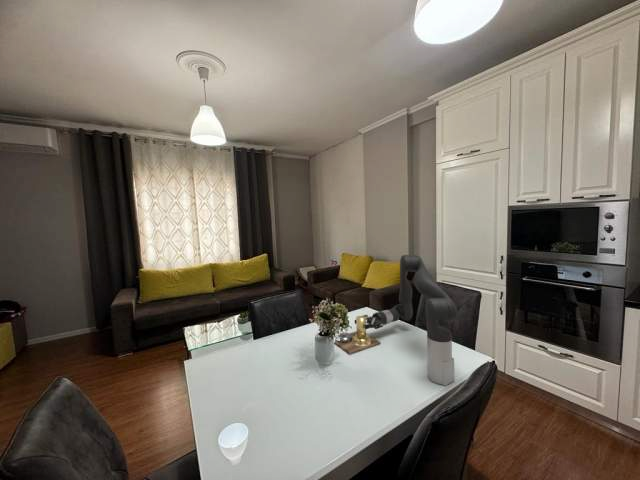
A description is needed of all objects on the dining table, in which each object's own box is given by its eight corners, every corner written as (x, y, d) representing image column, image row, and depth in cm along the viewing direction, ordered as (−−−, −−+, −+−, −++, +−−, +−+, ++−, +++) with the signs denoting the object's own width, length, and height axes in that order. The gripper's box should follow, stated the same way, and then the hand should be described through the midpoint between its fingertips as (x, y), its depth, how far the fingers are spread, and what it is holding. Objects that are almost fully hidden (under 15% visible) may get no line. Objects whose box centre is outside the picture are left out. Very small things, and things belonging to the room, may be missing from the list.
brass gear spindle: (374, 342, 136) (373, 318, 135) (360, 347, 131) (359, 322, 131) (362, 335, 145) (362, 313, 144) (348, 340, 140) (348, 316, 139)
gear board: (380, 344, 137) (380, 341, 137) (349, 354, 127) (349, 352, 127) (359, 332, 152) (359, 330, 152) (330, 340, 143) (330, 338, 142)
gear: (355, 340, 139) (355, 334, 139) (342, 345, 134) (341, 338, 134) (345, 334, 147) (345, 328, 147) (332, 338, 143) (332, 331, 143)
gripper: (374, 308, 151) (351, 313, 143) (391, 315, 139) (368, 321, 131) (374, 320, 151) (352, 326, 143) (392, 328, 139) (368, 336, 131)
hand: (359, 324), depth 137 cm, fingers open, 8 cm apart
